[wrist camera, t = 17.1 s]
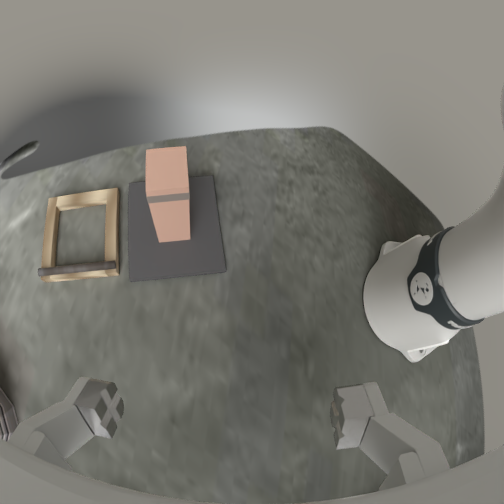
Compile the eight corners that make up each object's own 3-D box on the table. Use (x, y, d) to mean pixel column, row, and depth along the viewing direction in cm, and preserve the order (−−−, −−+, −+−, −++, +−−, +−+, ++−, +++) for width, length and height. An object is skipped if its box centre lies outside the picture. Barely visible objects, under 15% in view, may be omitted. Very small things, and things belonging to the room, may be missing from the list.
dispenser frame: (119, 193, 39) (116, 183, 37) (119, 275, 35) (114, 269, 33) (52, 203, 36) (46, 194, 34) (45, 282, 32) (37, 277, 30)
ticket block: (187, 204, 39) (186, 145, 28) (190, 239, 37) (189, 187, 26) (157, 207, 38) (146, 149, 27) (158, 243, 36) (145, 191, 25)
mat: (212, 178, 42) (212, 175, 41) (225, 272, 38) (226, 270, 37) (129, 186, 39) (129, 183, 39) (130, 281, 35) (129, 280, 34)
